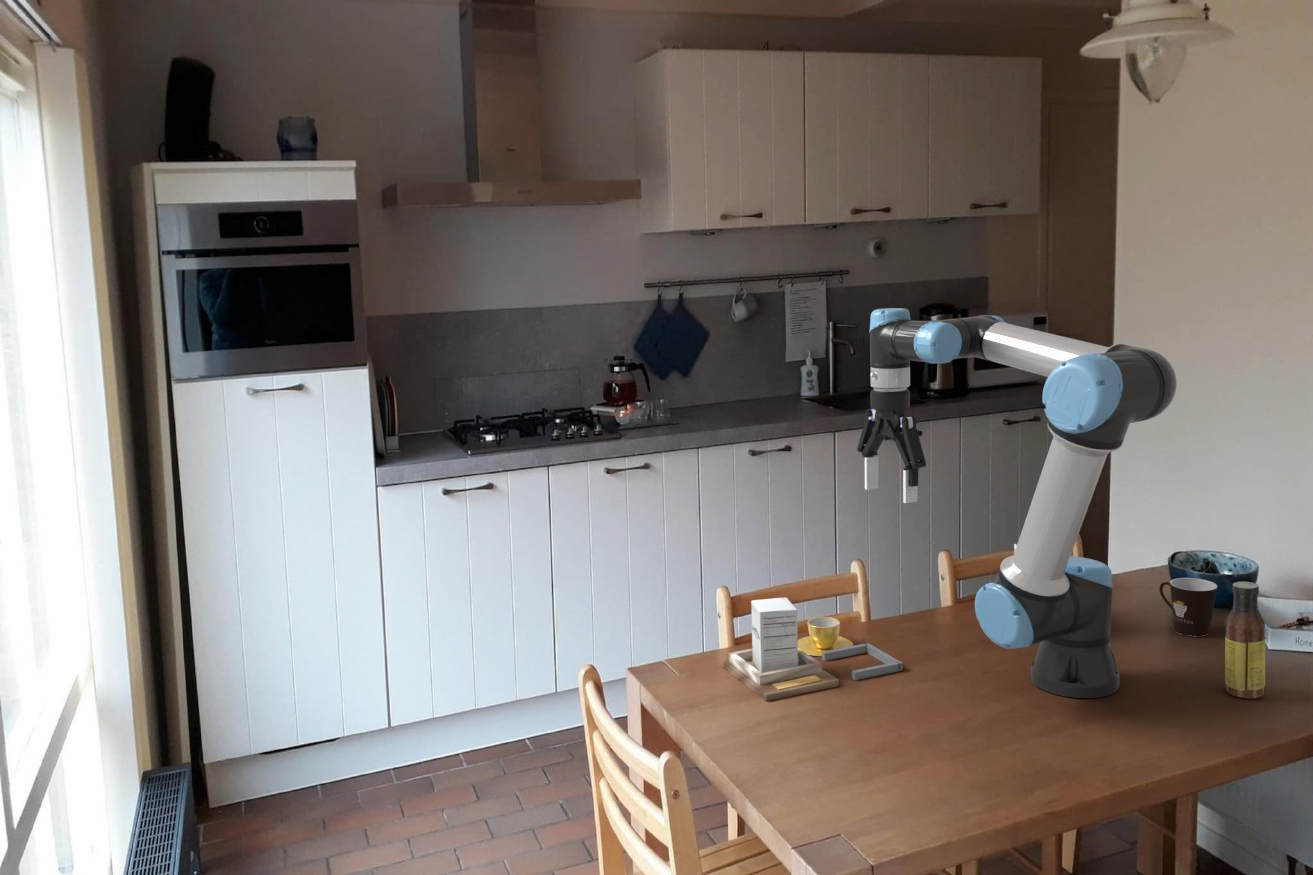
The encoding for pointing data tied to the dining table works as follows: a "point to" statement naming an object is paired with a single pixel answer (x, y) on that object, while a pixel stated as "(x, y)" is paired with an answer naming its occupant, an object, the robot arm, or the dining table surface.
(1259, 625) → the sauce bottle
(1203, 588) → the coffee mug
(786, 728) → the dining table surface
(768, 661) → the supplement box
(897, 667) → the bracket
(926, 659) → the dining table surface
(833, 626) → the cup
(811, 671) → the board
